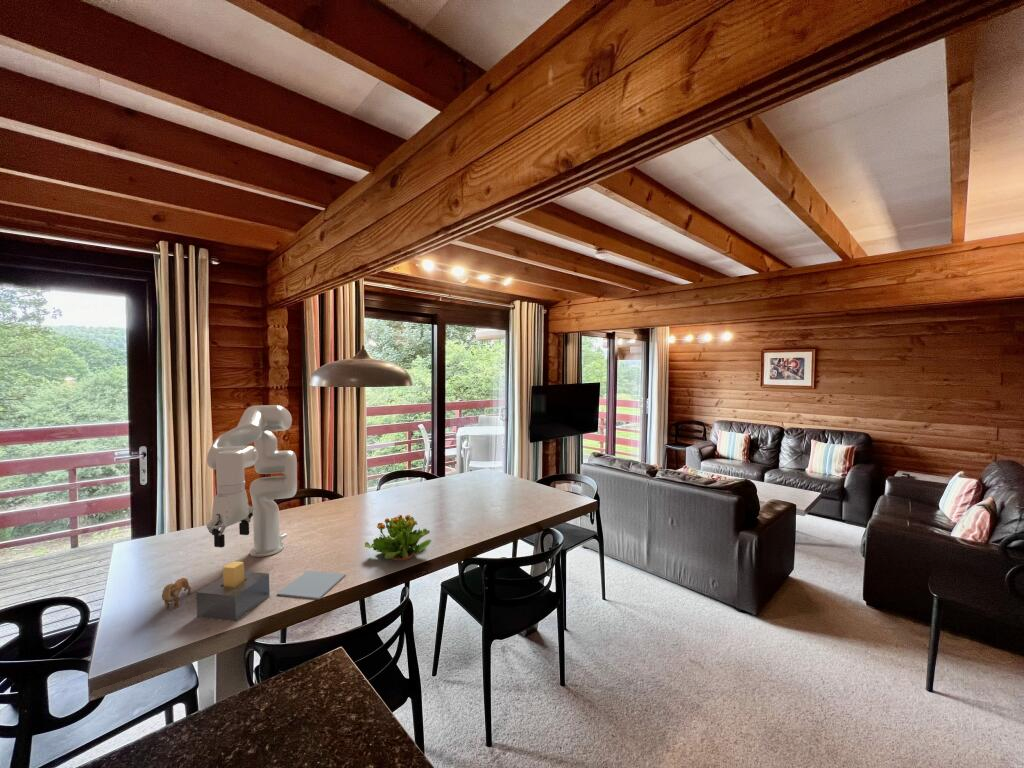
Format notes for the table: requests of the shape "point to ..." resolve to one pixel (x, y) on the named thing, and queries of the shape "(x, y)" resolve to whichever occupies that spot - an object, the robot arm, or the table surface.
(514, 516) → the table surface
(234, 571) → the peg
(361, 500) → the table surface
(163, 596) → the brown animal figure
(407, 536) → the potted flower
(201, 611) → the hole block
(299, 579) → the mat
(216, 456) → the robot arm
